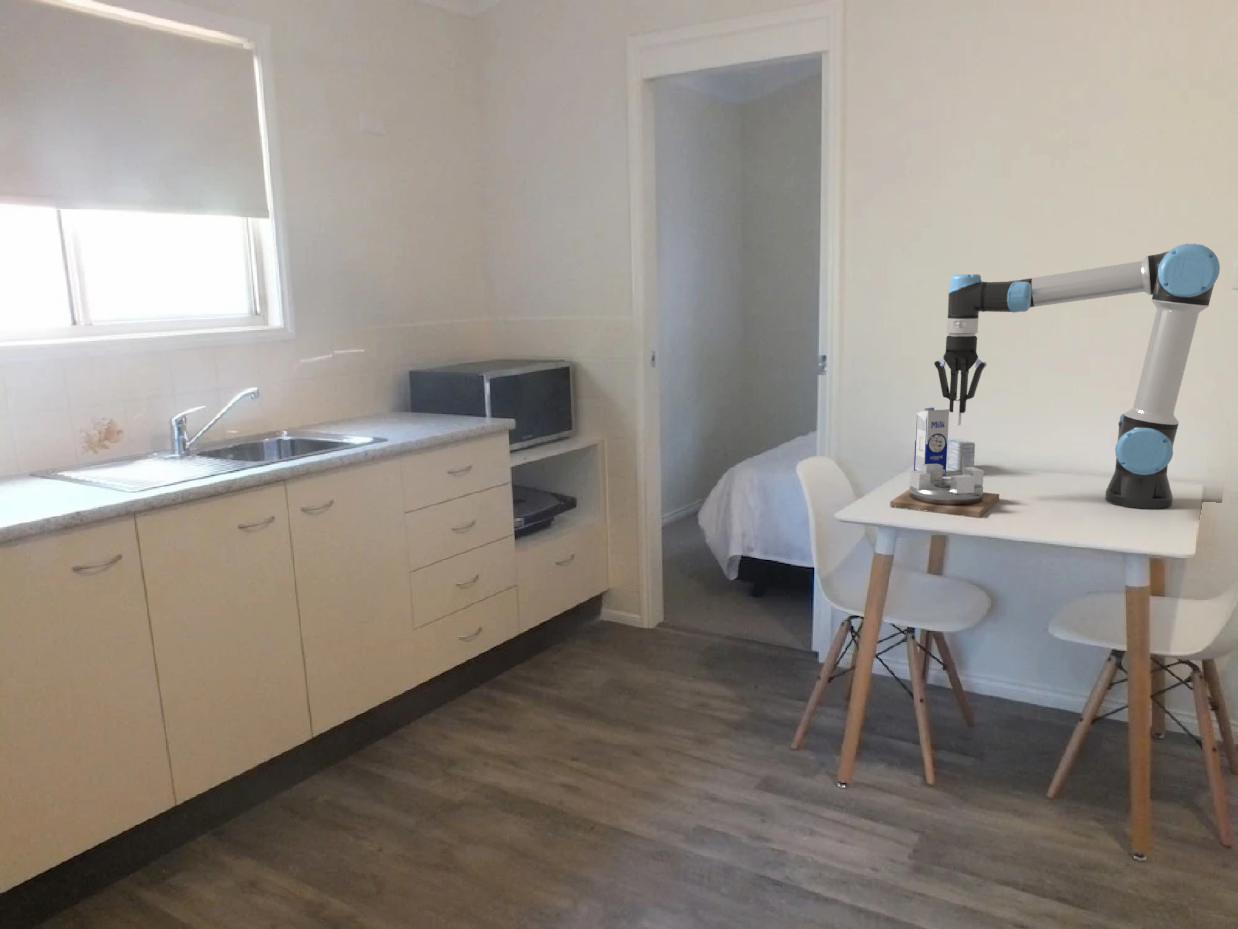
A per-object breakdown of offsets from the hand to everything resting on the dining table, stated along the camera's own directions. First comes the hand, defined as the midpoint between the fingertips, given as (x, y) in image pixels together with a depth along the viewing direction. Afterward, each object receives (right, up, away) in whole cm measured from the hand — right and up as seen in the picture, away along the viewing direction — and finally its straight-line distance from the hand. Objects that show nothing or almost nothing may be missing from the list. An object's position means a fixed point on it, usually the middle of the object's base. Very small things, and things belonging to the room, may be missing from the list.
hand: (956, 424), depth 245 cm
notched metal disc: (-4, -19, -3) cm, 20 cm away
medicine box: (+16, -12, +40) cm, 44 cm away
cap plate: (-4, -21, -3) cm, 21 cm away
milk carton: (+4, -14, +33) cm, 36 cm away
